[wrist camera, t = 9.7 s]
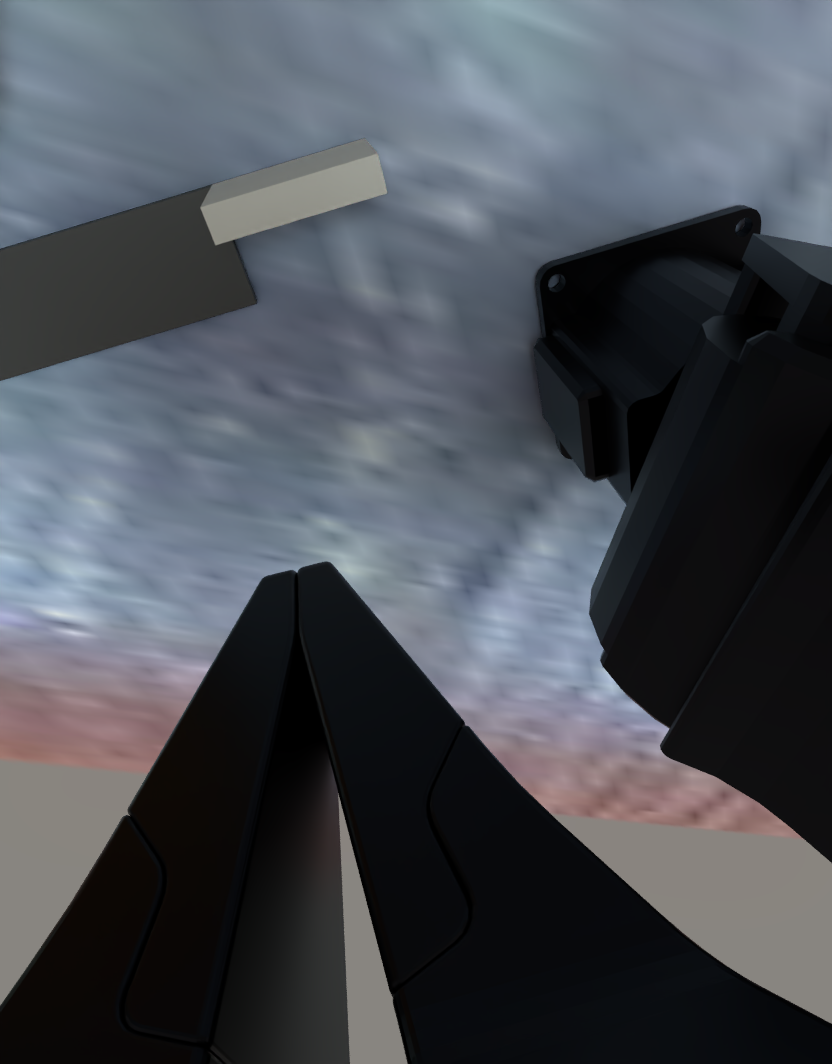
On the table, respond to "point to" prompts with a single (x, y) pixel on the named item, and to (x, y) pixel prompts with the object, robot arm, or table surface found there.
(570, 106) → the table surface
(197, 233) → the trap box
